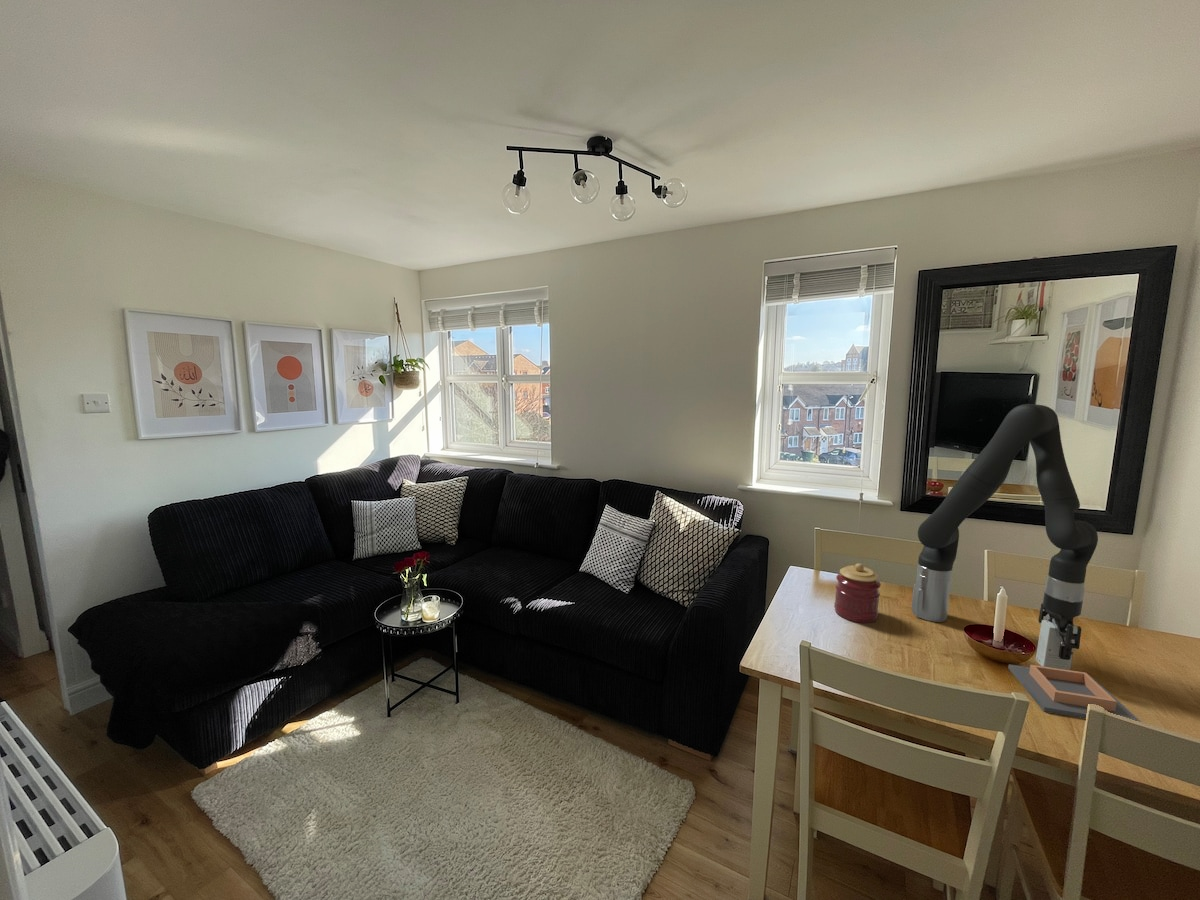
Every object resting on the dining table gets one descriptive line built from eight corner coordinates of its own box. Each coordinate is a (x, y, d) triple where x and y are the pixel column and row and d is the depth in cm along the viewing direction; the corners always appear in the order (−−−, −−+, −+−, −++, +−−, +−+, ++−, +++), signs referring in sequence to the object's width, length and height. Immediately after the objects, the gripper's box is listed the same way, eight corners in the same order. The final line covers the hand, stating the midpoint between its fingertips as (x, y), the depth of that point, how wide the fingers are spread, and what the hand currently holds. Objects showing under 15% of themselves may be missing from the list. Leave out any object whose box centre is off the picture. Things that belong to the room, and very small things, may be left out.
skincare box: (1043, 668, 133) (1049, 627, 131) (1034, 659, 137) (1040, 619, 135) (1071, 672, 131) (1078, 630, 129) (1061, 663, 135) (1068, 622, 133)
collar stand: (1043, 711, 116) (1045, 697, 115) (1008, 668, 133) (1009, 655, 132) (1141, 728, 110) (1144, 713, 110) (1091, 680, 127) (1093, 667, 127)
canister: (879, 610, 165) (883, 561, 162) (876, 627, 154) (881, 574, 151) (836, 601, 172) (840, 553, 169) (831, 617, 161) (835, 566, 158)
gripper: (1032, 581, 138) (1025, 634, 141) (1061, 604, 125) (1052, 662, 128) (1065, 585, 136) (1057, 639, 139) (1098, 608, 123) (1088, 667, 125)
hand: (1055, 650), depth 133 cm, fingers open, 8 cm apart
